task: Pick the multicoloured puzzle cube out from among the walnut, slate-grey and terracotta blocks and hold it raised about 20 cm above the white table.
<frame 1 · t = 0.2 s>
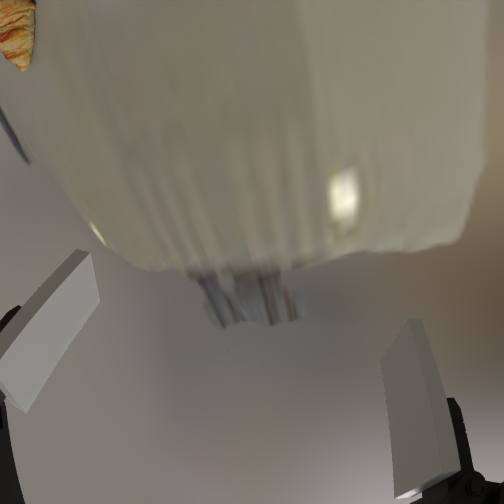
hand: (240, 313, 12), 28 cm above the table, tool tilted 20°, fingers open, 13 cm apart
croissant: (16, 9, 22), on the table
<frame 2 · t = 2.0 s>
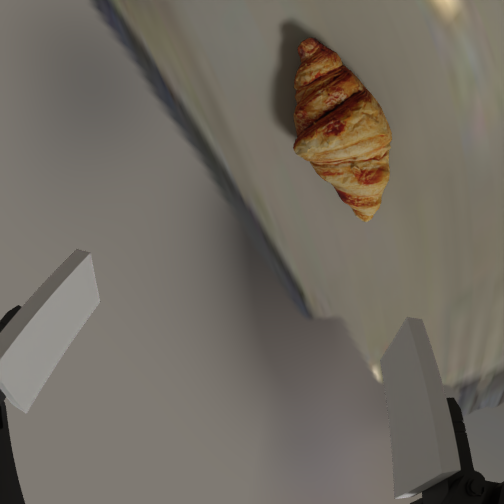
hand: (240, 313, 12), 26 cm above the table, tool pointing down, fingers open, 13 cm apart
croissant: (341, 130, 31), on the table
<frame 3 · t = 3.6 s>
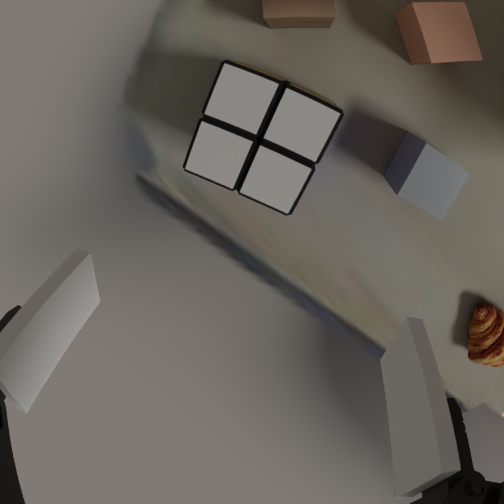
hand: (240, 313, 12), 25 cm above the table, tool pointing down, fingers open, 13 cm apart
puzzle cube: (271, 122, 31), on the table
walnut block: (297, 2, 24), on the table
terracotta block: (426, 36, 23), on the table
slate grey block: (416, 166, 31), on the table
croissant: (486, 330, 41), on the table
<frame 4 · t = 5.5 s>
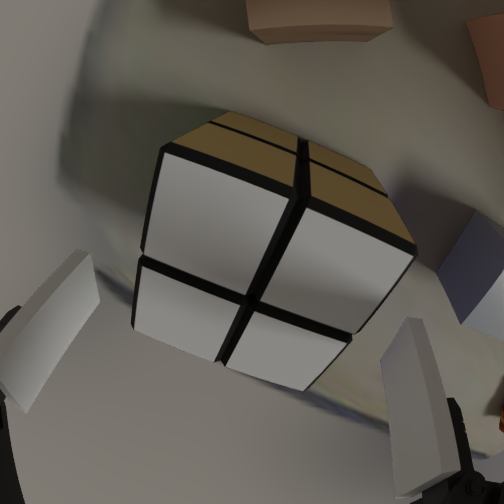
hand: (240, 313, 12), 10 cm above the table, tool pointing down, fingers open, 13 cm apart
puzzle cube: (274, 203, 21), on the table
slate grey block: (479, 255, 20), on the table
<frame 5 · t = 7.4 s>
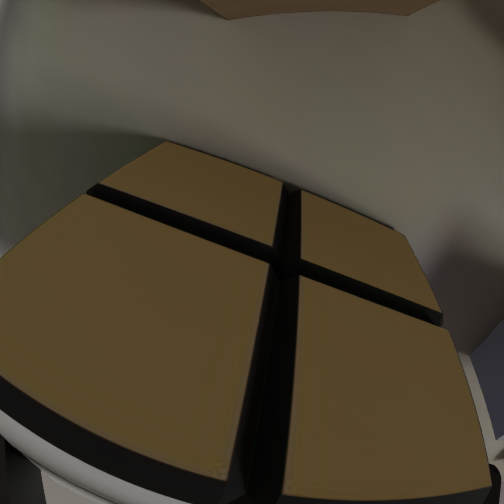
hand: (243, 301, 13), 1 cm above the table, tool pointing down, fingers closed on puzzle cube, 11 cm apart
puzzle cube: (248, 282, 14), on the table, touching gripper
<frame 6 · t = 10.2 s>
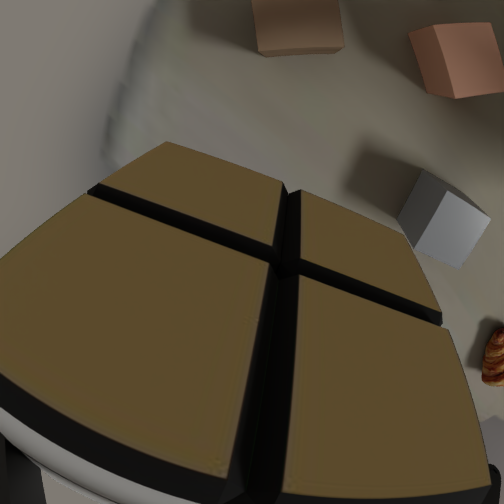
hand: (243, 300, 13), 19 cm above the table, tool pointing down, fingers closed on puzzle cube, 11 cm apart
puzzle cube: (248, 282, 14), point 18 cm above the table, touching gripper
walnut block: (296, 24, 21), on the table
terracotta block: (443, 59, 20), on the table
slate grey block: (431, 205, 28), on the table
croissant: (500, 352, 38), on the table
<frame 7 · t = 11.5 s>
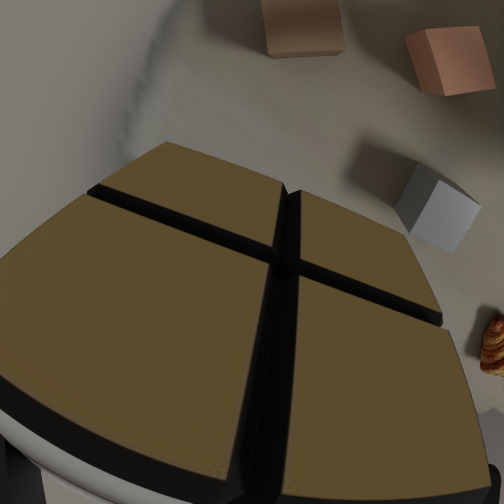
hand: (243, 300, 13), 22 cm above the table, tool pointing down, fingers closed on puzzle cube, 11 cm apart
puzzle cube: (248, 282, 14), point 21 cm above the table, touching gripper
walnut block: (301, 28, 24), on the table
terracotta block: (436, 60, 22), on the table
slate grey block: (426, 196, 30), on the table
croissant: (498, 342, 40), on the table
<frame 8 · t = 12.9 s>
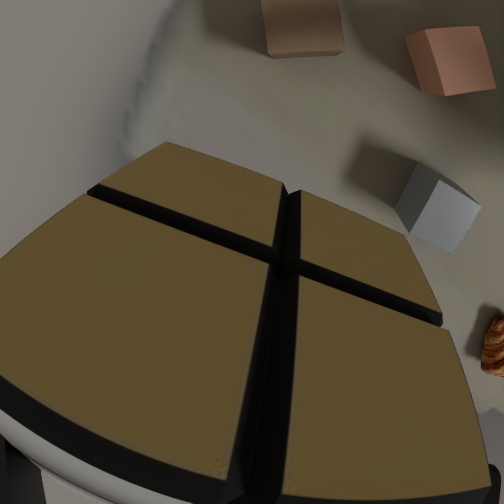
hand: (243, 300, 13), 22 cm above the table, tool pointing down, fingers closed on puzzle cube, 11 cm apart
puzzle cube: (248, 282, 14), point 21 cm above the table, touching gripper
walnut block: (301, 28, 24), on the table
terracotta block: (436, 60, 22), on the table
slate grey block: (426, 196, 30), on the table
croissant: (499, 342, 40), on the table
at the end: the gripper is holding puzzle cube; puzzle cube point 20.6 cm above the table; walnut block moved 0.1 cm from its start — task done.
